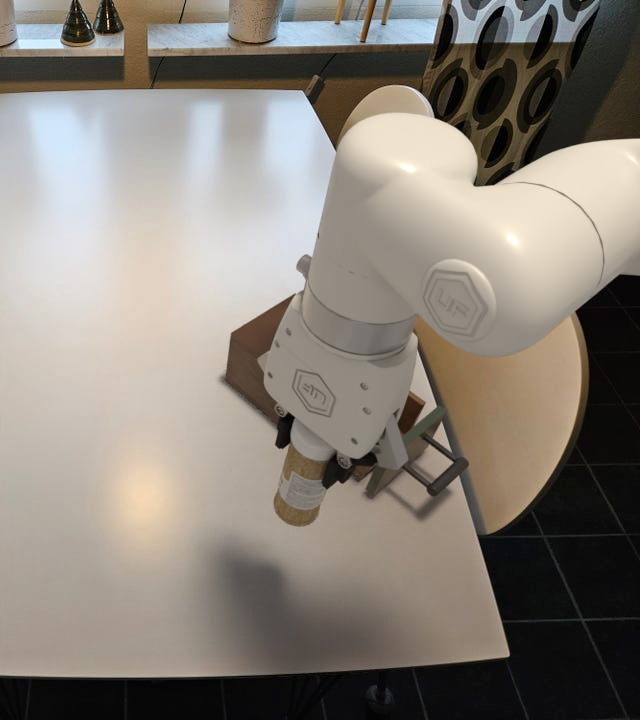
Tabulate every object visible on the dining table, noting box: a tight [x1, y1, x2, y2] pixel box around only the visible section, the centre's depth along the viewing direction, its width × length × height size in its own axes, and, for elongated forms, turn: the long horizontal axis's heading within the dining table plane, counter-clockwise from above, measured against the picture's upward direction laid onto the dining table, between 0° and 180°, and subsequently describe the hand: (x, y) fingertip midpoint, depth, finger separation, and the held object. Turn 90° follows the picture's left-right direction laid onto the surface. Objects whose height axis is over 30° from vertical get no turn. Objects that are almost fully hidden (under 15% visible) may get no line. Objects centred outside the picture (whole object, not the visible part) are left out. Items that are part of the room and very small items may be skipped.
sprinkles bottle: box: [273, 417, 337, 528], centre depth 58 cm, size 5×5×14 cm
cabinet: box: [224, 293, 297, 425], centre depth 88 cm, size 15×13×10 cm
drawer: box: [354, 389, 470, 498], centre depth 81 cm, size 19×11×8 cm, turn 40°
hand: (311, 457), depth 57 cm, fingers closed on sprinkles bottle, 4 cm apart
